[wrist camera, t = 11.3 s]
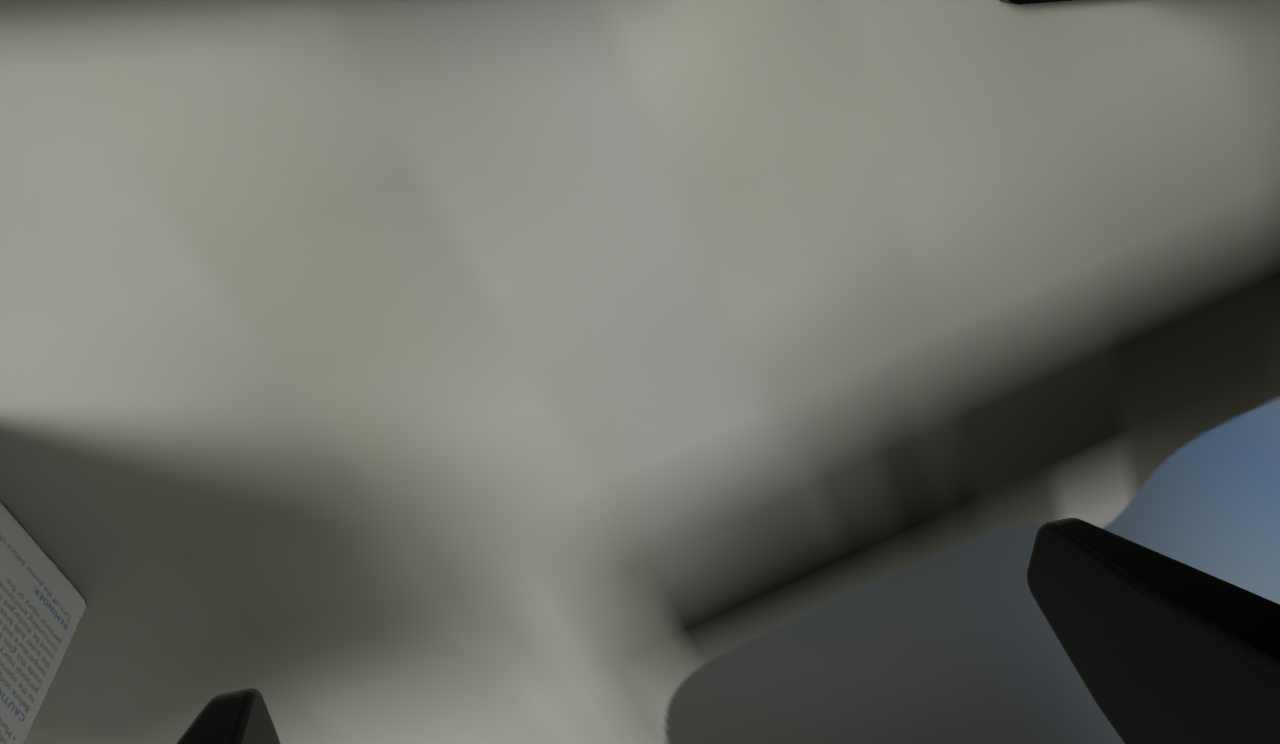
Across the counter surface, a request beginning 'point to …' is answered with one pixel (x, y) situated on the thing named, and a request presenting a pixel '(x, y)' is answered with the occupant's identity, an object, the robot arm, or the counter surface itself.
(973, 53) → the counter surface
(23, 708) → the light bulb box
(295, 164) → the counter surface
